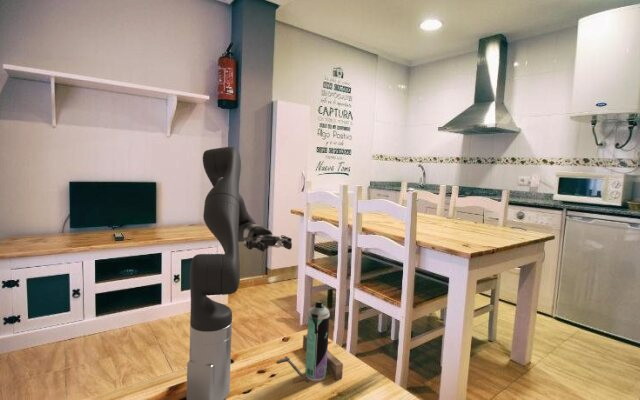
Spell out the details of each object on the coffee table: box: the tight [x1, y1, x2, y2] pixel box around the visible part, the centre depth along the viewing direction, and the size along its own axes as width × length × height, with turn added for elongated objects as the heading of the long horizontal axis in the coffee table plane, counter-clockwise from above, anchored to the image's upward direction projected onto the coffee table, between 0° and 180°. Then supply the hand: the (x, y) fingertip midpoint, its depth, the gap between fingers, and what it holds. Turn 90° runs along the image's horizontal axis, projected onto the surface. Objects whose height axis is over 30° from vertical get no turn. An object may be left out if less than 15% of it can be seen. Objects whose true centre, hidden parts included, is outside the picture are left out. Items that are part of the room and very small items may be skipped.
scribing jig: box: [276, 334, 344, 384], centre depth 95 cm, size 18×12×4 cm, turn 31°
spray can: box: [304, 300, 331, 382], centre depth 91 cm, size 6×6×20 cm
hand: (277, 247), depth 104 cm, fingers open, 8 cm apart
